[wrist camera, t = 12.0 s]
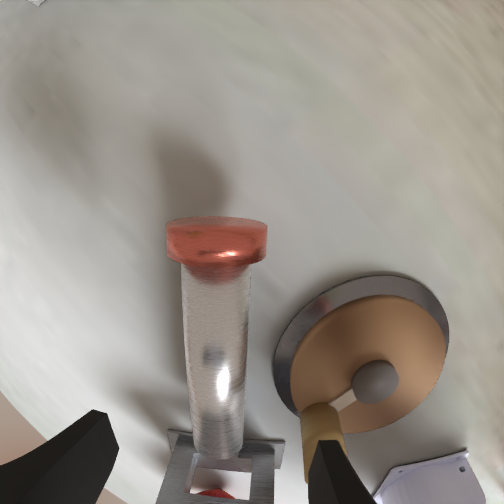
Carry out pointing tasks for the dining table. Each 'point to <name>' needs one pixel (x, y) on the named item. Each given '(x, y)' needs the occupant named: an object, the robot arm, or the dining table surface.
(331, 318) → the handwheel
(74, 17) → the dining table surface
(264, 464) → the eye bracket
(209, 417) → the copper capped rod
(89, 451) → the robot arm
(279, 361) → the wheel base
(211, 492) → the pomegranate
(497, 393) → the dining table surface
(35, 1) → the tea box
